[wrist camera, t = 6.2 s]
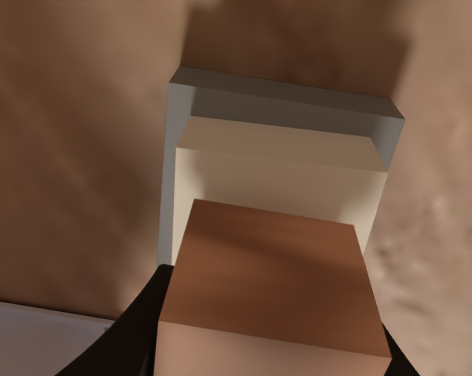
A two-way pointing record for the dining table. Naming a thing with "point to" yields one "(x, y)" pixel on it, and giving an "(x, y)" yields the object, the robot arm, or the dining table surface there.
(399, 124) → the bottom slab
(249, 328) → the terracotta cube
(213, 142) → the top slab
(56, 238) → the dining table surface
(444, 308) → the dining table surface
